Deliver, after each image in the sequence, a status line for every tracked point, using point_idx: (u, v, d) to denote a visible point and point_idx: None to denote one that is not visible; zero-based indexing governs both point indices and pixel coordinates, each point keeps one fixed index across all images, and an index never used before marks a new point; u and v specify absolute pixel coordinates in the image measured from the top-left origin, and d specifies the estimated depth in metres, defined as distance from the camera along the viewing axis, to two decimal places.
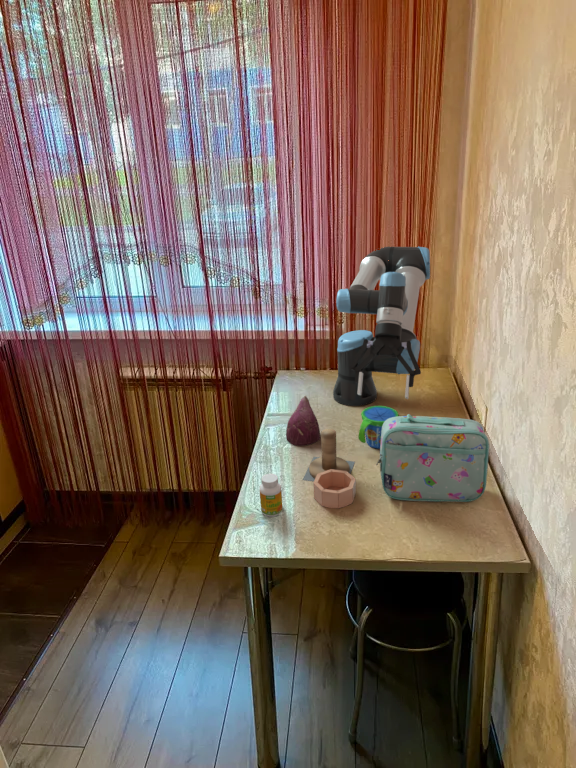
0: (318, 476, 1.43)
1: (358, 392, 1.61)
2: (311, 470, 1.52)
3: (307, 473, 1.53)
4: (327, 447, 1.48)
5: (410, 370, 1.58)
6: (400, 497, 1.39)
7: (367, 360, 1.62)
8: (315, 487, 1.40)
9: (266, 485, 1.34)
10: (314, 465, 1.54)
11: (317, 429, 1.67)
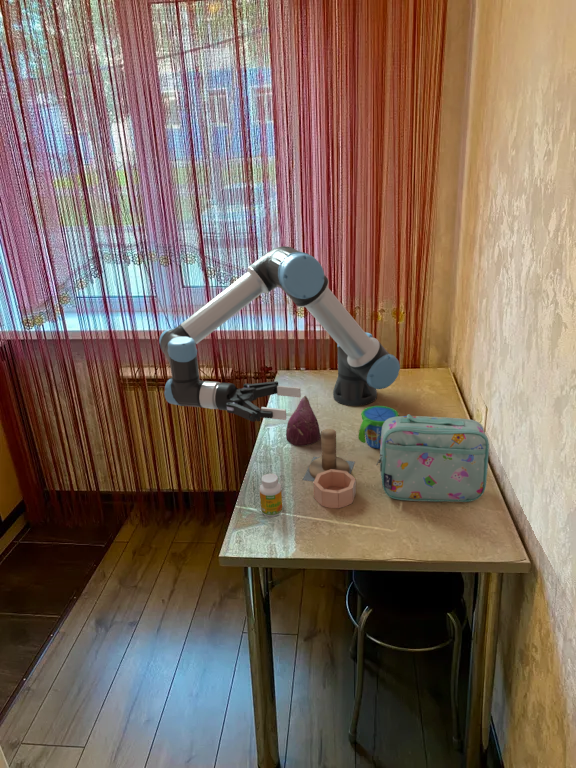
0: (318, 476, 1.43)
1: None
2: (311, 470, 1.52)
3: (307, 473, 1.53)
4: (327, 447, 1.48)
5: None
6: (400, 497, 1.39)
7: None
8: (315, 487, 1.40)
9: (266, 485, 1.34)
10: (314, 465, 1.54)
11: (317, 429, 1.67)
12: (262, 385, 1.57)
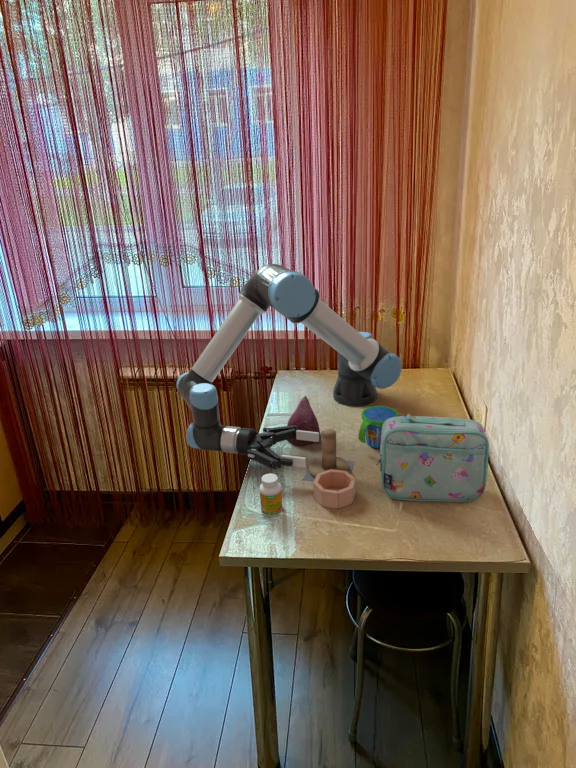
0: (318, 476, 1.43)
1: None
2: (311, 470, 1.52)
3: (307, 473, 1.53)
4: (327, 447, 1.48)
5: None
6: (400, 497, 1.39)
7: None
8: (315, 487, 1.40)
9: (266, 485, 1.34)
10: (314, 465, 1.54)
11: (317, 429, 1.67)
12: (281, 429, 1.61)
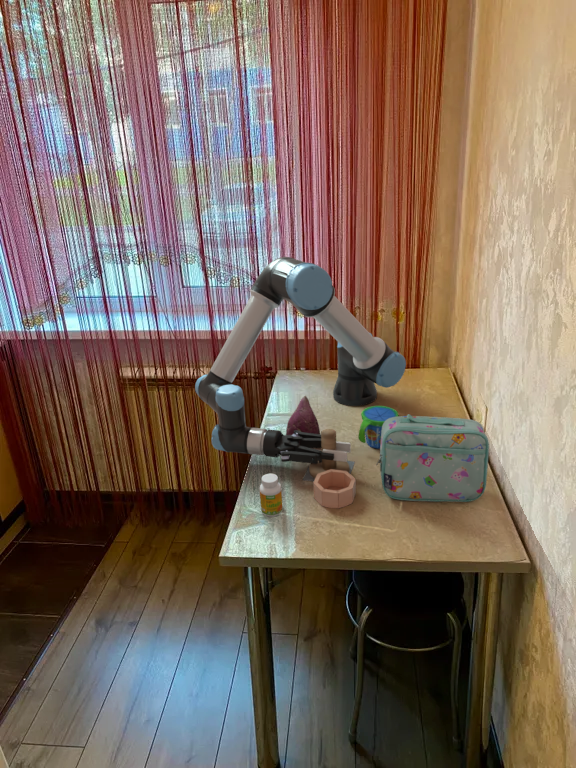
0: (318, 476, 1.43)
1: None
2: (311, 470, 1.52)
3: (307, 473, 1.53)
4: (327, 447, 1.48)
5: None
6: (400, 497, 1.39)
7: None
8: (315, 487, 1.40)
9: (266, 485, 1.34)
10: (314, 465, 1.54)
11: (317, 429, 1.67)
12: (310, 436, 1.56)
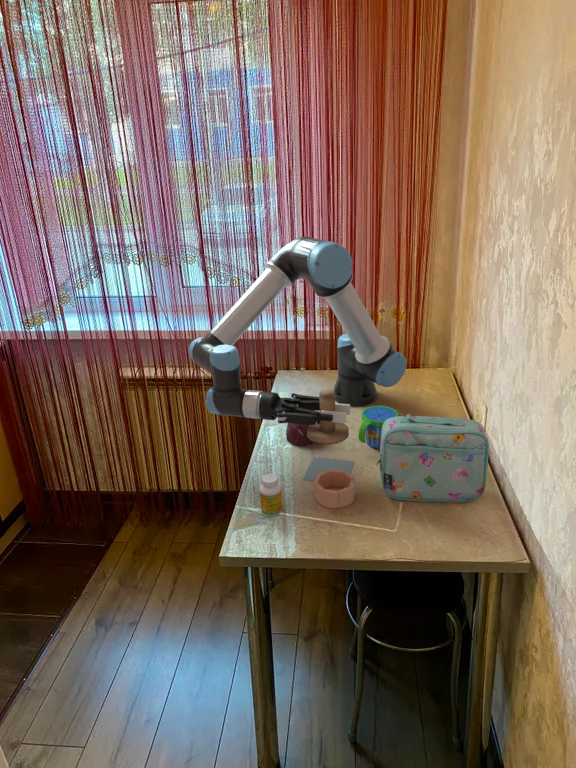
0: (318, 476, 1.43)
1: None
2: (309, 433, 1.46)
3: (307, 473, 1.53)
4: (325, 408, 1.42)
5: None
6: (400, 497, 1.39)
7: None
8: (315, 487, 1.40)
9: (266, 485, 1.34)
10: (312, 429, 1.48)
11: None
12: (308, 398, 1.50)
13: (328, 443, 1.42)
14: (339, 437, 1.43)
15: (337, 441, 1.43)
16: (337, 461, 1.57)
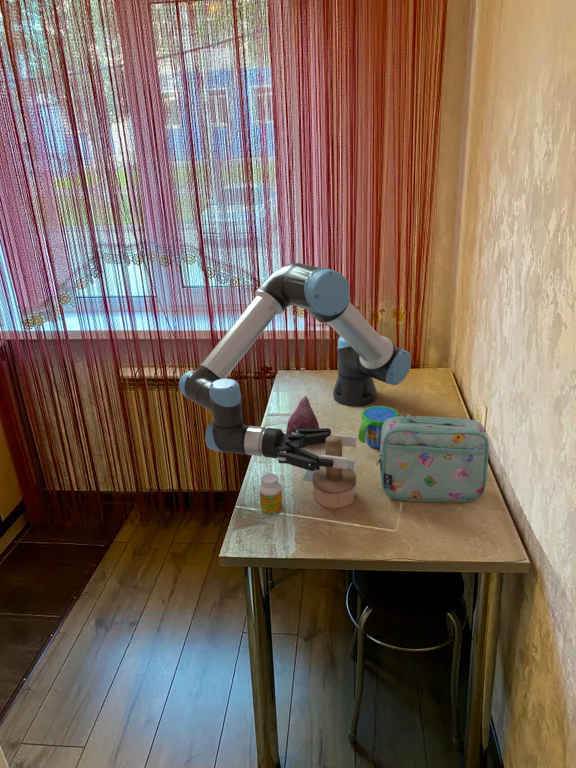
0: None
1: None
2: (314, 480, 1.39)
3: (307, 473, 1.53)
4: (332, 455, 1.35)
5: None
6: (400, 497, 1.39)
7: None
8: (315, 487, 1.40)
9: (266, 485, 1.34)
10: (318, 475, 1.41)
11: None
12: (312, 431, 1.44)
13: (335, 492, 1.36)
14: (346, 485, 1.37)
15: (344, 490, 1.36)
16: None
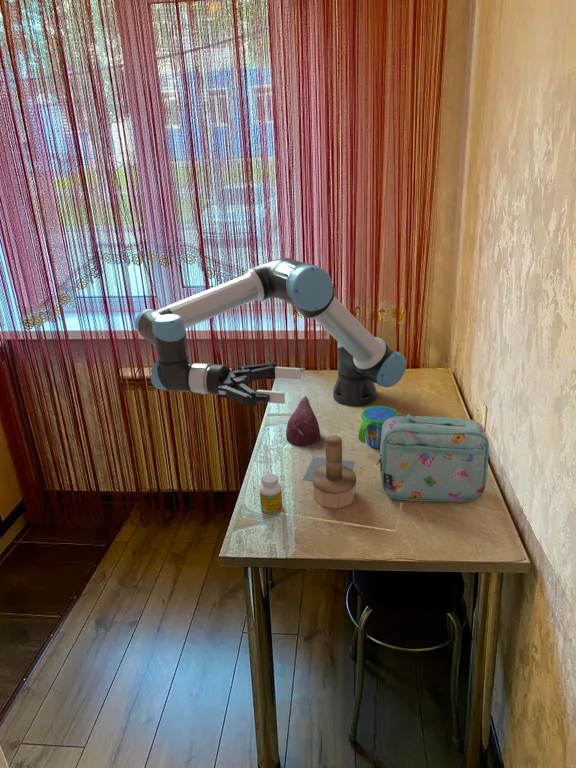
0: None
1: None
2: (314, 480, 1.39)
3: (307, 473, 1.53)
4: (332, 455, 1.35)
5: None
6: (400, 497, 1.39)
7: None
8: (315, 487, 1.40)
9: (266, 485, 1.34)
10: (318, 475, 1.41)
11: (317, 429, 1.67)
12: (258, 367, 1.42)
13: (335, 492, 1.36)
14: (346, 485, 1.37)
15: (344, 490, 1.36)
16: None
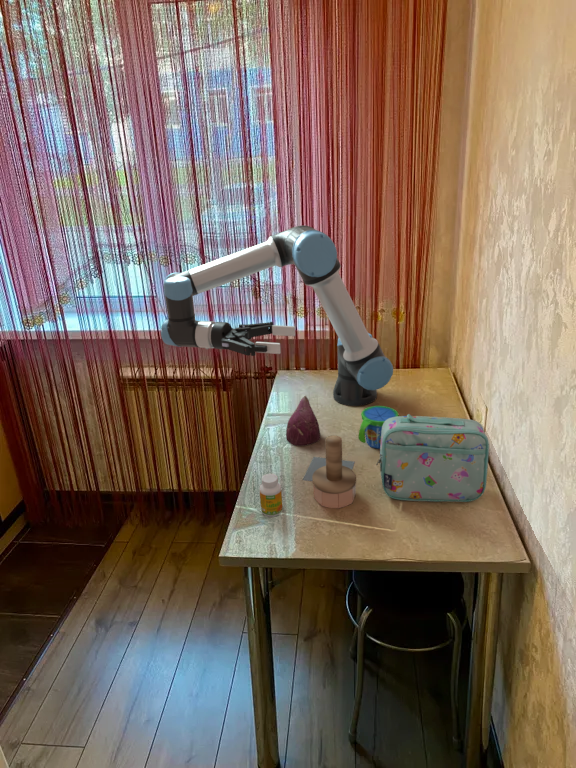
0: None
1: None
2: (314, 480, 1.39)
3: (307, 473, 1.53)
4: (332, 455, 1.35)
5: None
6: (400, 497, 1.39)
7: None
8: (315, 487, 1.40)
9: (266, 485, 1.34)
10: (318, 475, 1.41)
11: (317, 429, 1.67)
12: (257, 325, 1.59)
13: (335, 492, 1.36)
14: (346, 485, 1.37)
15: (344, 490, 1.36)
16: None
